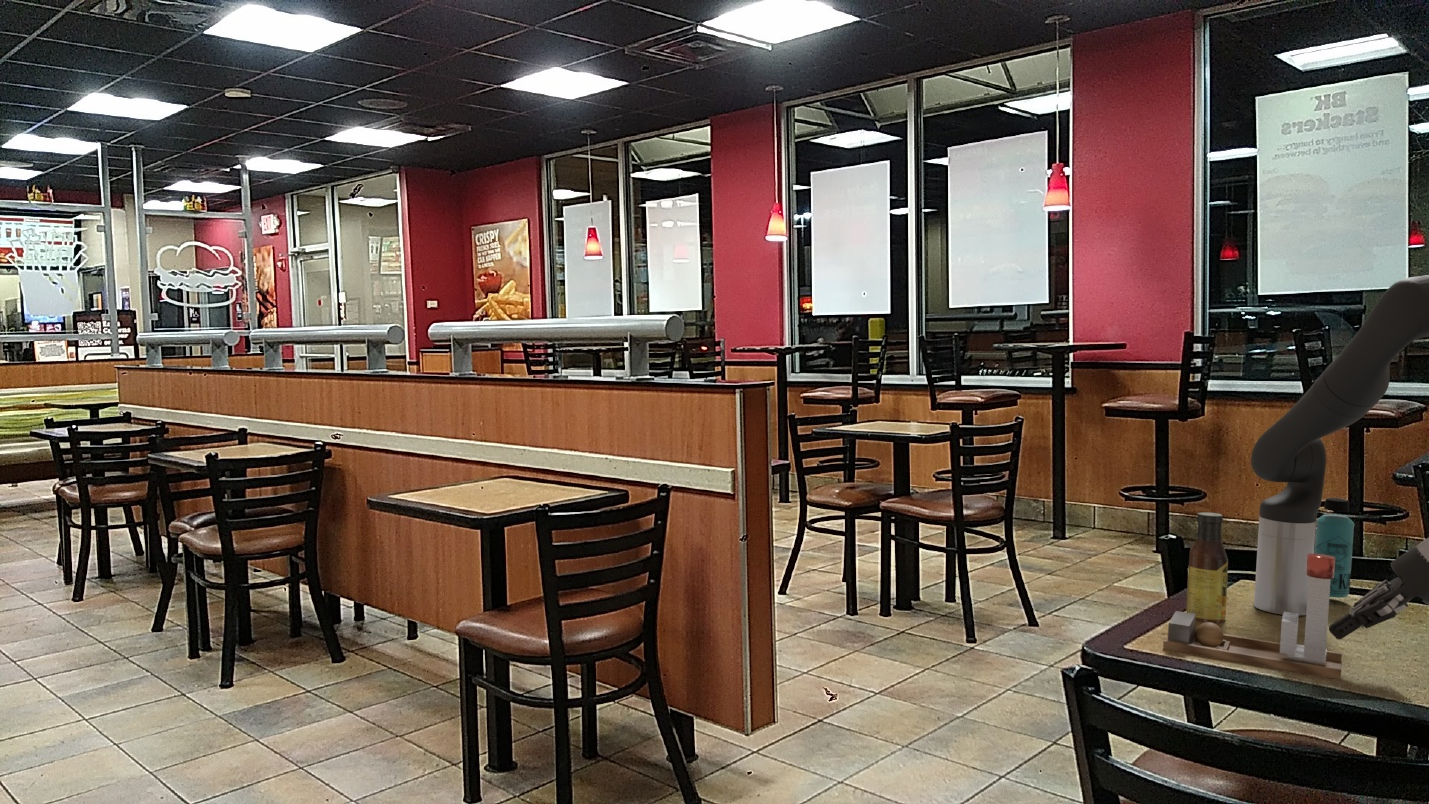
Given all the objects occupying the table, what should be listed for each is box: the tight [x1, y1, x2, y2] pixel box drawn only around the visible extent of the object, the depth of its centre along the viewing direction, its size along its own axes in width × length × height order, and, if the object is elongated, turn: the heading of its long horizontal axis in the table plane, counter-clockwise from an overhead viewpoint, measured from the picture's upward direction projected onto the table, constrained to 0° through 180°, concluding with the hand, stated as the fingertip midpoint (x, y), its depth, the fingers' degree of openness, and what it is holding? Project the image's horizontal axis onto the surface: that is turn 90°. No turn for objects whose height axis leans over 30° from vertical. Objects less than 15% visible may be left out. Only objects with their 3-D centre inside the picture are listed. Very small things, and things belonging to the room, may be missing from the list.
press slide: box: [1279, 554, 1335, 667], centre depth 153 cm, size 6×7×16 cm
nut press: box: [1162, 610, 1343, 681], centre depth 158 cm, size 24×10×6 cm, turn 58°
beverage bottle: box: [1314, 497, 1356, 598], centre depth 194 cm, size 6×7×20 cm
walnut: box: [1196, 622, 1224, 647], centre depth 161 cm, size 4×4×4 cm
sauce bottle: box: [1186, 511, 1229, 624], centre depth 177 cm, size 6×6×20 cm
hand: (1333, 633), depth 152 cm, fingers closed
